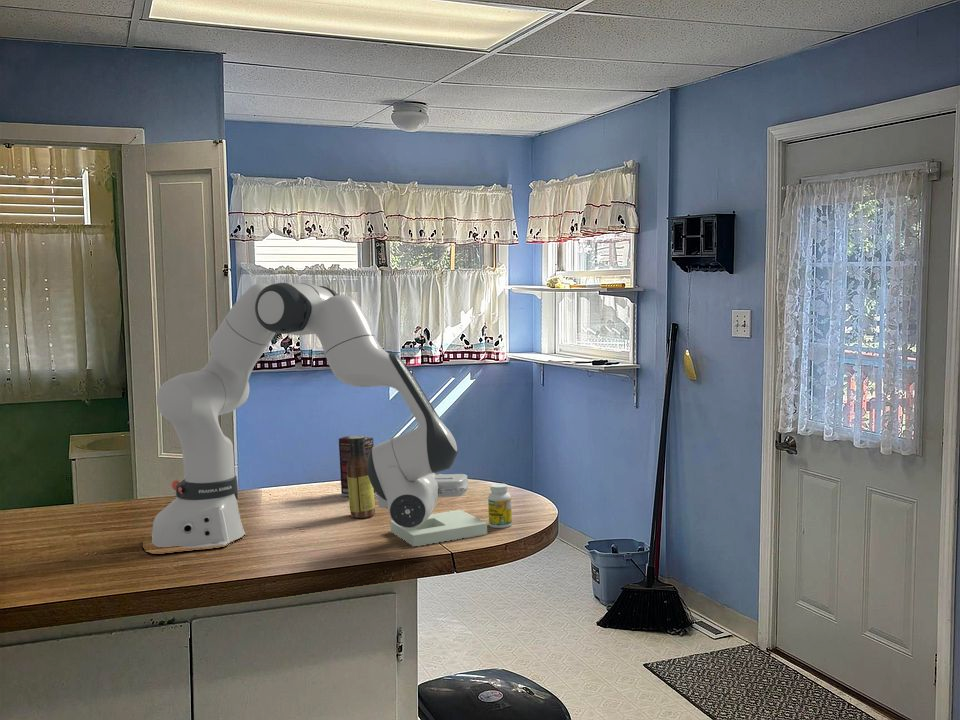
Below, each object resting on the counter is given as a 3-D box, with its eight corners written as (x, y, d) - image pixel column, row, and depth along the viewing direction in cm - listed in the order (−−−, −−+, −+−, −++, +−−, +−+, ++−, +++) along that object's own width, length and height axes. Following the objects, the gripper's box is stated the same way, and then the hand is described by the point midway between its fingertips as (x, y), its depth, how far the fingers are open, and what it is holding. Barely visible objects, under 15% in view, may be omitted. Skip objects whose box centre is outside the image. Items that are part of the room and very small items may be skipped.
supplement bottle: (515, 523, 217) (514, 483, 216) (505, 529, 212) (504, 488, 211) (495, 521, 220) (494, 481, 219) (484, 527, 215) (483, 486, 214)
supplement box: (376, 495, 248) (374, 437, 247) (365, 499, 244) (362, 440, 243) (351, 492, 253) (349, 435, 251) (340, 496, 249) (337, 438, 247)
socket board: (413, 547, 201) (413, 535, 201) (390, 531, 213) (390, 520, 213) (487, 534, 209) (486, 523, 209) (460, 520, 221) (460, 509, 221)
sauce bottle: (377, 512, 231) (374, 434, 229) (372, 519, 225) (369, 438, 223) (352, 512, 232) (348, 434, 230) (346, 519, 225) (342, 439, 223)
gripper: (465, 476, 195) (470, 462, 208) (370, 478, 196) (380, 465, 210) (467, 505, 195) (471, 490, 209) (371, 507, 197) (382, 492, 210)
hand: (425, 477), depth 209 cm, fingers closed on peg, 5 cm apart
